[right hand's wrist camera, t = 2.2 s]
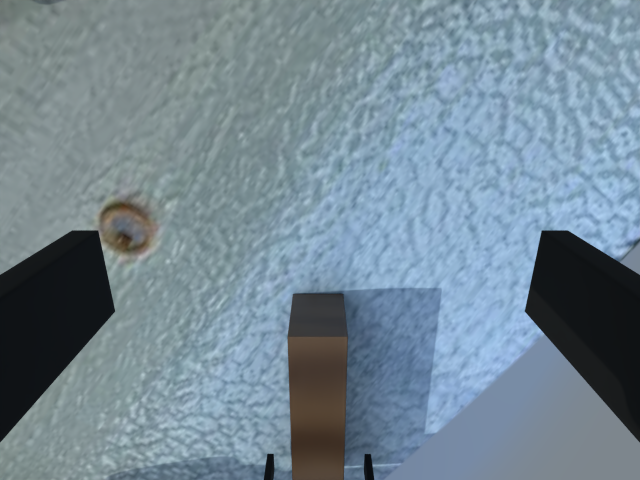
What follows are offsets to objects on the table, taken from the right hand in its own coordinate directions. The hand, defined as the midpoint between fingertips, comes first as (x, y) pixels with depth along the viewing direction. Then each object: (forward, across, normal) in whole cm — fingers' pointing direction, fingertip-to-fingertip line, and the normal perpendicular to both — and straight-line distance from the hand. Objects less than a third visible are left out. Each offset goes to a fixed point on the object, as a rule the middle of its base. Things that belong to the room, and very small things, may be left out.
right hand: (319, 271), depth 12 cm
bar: (+29, 0, -30) cm, 41 cm away
